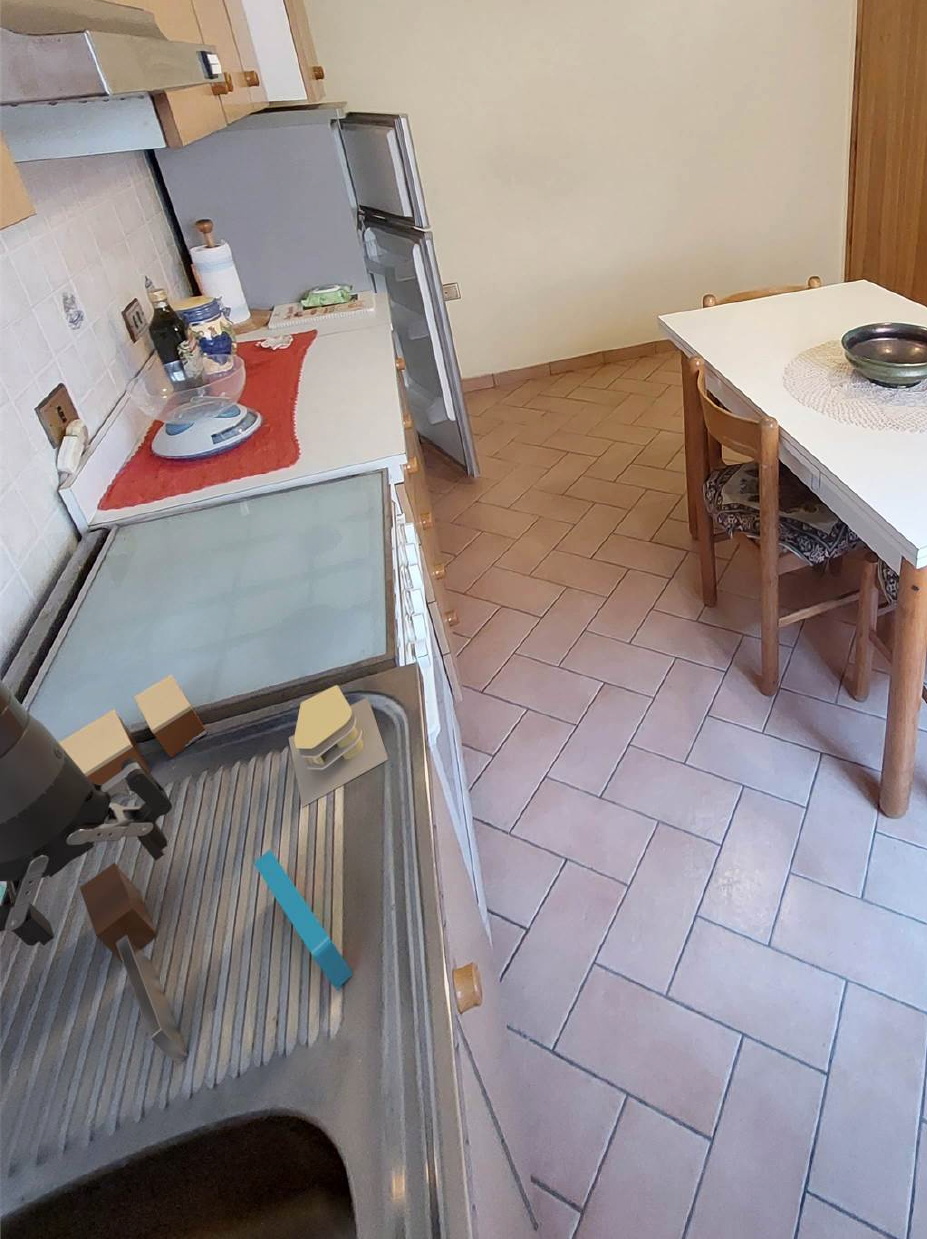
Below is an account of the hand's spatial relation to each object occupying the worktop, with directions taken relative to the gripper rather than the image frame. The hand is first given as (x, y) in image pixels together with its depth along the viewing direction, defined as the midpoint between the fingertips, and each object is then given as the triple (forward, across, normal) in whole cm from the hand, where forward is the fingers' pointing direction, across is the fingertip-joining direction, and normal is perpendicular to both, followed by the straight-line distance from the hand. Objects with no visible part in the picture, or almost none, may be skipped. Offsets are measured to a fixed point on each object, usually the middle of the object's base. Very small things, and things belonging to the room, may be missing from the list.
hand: (104, 891), depth 64 cm
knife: (+6, 0, +5) cm, 8 cm away
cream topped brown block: (+6, -10, -20) cm, 23 cm away
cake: (+6, -2, -20) cm, 21 cm away
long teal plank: (+6, -11, +14) cm, 19 cm away
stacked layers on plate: (+6, -21, -2) cm, 22 cm away
